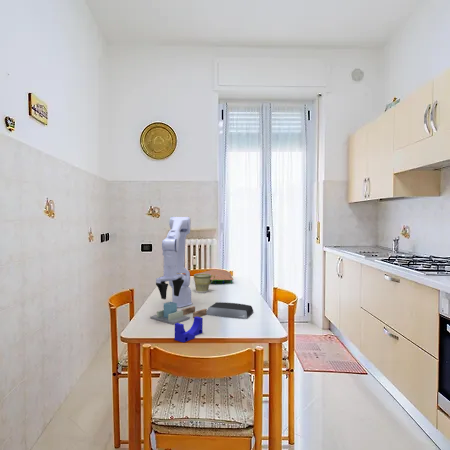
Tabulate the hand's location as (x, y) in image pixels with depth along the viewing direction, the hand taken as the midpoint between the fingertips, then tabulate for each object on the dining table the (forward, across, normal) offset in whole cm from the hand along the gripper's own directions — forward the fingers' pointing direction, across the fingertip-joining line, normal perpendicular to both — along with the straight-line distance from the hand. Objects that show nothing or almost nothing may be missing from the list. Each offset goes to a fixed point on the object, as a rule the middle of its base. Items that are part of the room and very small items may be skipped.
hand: (170, 297), depth 154 cm
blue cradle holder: (+10, -11, -22) cm, 27 cm away
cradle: (+9, +11, -4) cm, 15 cm away
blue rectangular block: (+8, 0, 0) cm, 9 cm away
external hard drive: (+10, +23, -15) cm, 29 cm away
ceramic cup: (+10, +51, +24) cm, 57 cm away
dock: (+9, 0, 0) cm, 9 cm away
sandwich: (+10, +84, +42) cm, 94 cm away
